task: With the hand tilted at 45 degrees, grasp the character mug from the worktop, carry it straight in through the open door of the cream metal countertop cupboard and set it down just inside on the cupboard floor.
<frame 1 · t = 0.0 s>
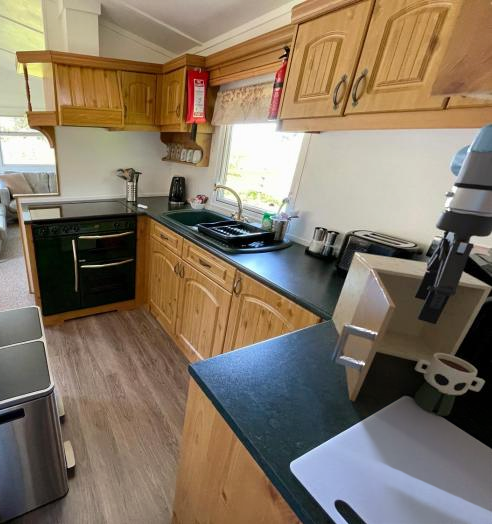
hand: (423, 309, 63), 24 cm above the countertop, tool pointing down, fingers open, 13 cm apart
cupboard door: (350, 326, 76), point 13 cm above the countertop, hinge at 100.0°
cupboard: (382, 341, 94), on the countertop
character mug: (429, 407, 69), on the countertop
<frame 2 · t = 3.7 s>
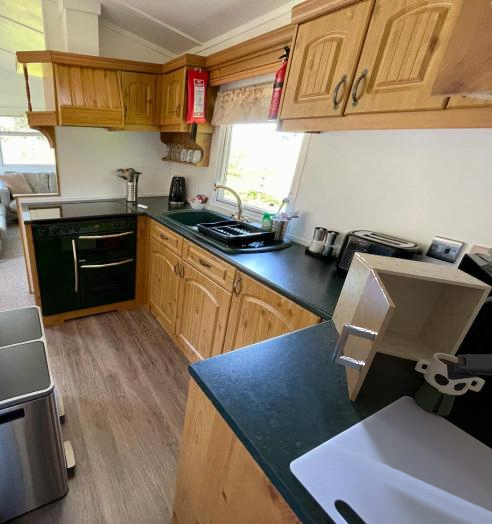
nothing on the countertop moved.
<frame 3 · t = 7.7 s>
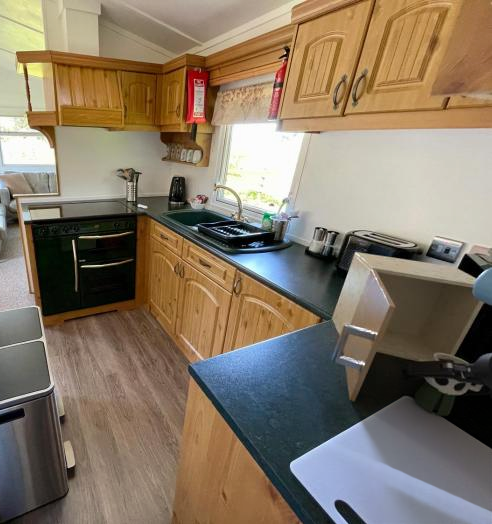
hand: (432, 381, 70), 5 cm above the countertop, tool tilted 45°, fingers closed on character mug, 10 cm apart
character mug: (429, 407, 69), on the countertop, touching gripper
everything else where it was.
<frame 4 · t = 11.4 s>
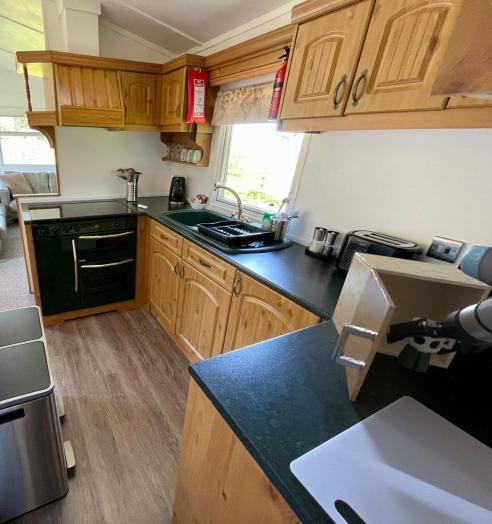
hand: (412, 344, 79), 8 cm above the countertop, tool tilted 45°, fingers closed on character mug, 10 cm apart
character mug: (410, 366, 78), point 3 cm above the countertop, touching gripper
everything else where it was.
when the fingers open (6 cm above the countertop, at t = 15.2 s): character mug stays where it is, resting on cupboard.
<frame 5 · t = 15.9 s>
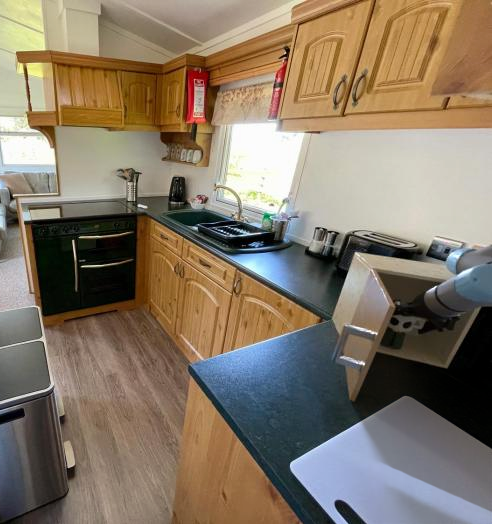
hand: (392, 324, 90), 7 cm above the countertop, tool tilted 45°, fingers open, 13 cm apart
character mug: (387, 345, 90), point 1 cm above the countertop, touching cupboard
everything else where it was.
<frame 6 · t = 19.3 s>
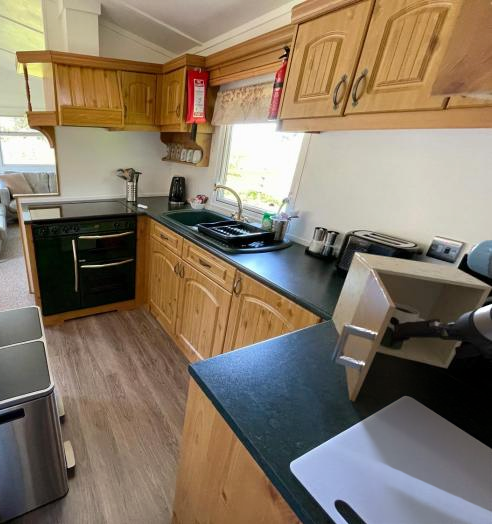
hand: (424, 345, 75), 10 cm above the countertop, tool tilted 45°, fingers open, 13 cm apart
nothing on the countertop moved.
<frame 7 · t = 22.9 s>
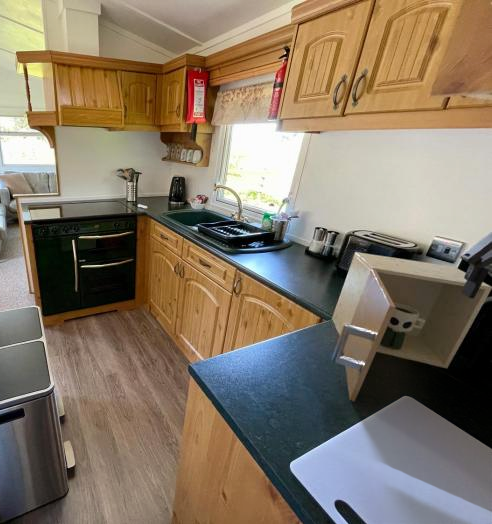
nothing on the countertop moved.
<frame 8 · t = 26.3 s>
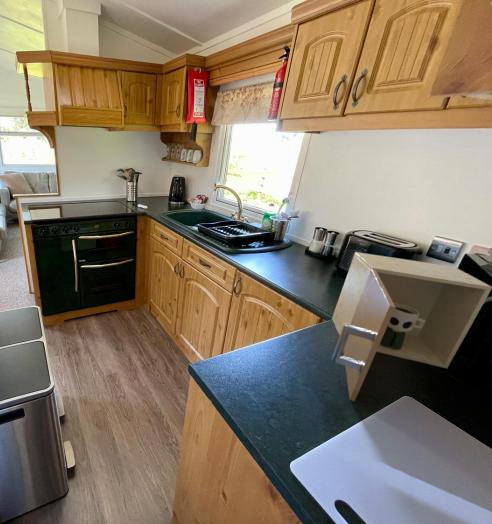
nothing on the countertop moved.
at the end: character mug inside the target area in the cupboard (3.5 cm from its centre), point 0.8 cm above the cupboard's base; character mug tilted 0°; the gripper is holding nothing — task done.
